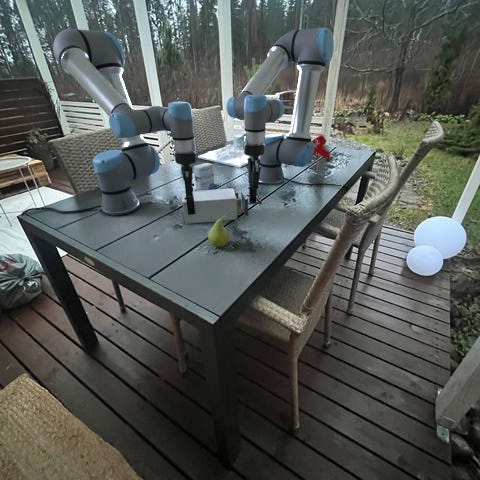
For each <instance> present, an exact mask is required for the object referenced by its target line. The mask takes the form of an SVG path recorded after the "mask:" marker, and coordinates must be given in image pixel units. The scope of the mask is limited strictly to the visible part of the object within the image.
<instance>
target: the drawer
mask: <svg viewBox="0 0 480 480" xmlns="http://www.w3.org/2000/svg"><path fill="white" fill-rule="evenodd" d="M234 193H235V196H236V198H237V216H238V215H242V211H243V214H244V216H245V217H246V216H247V217H248V216H249V206H250V205H259V206H261V205H263V202H262V200H261V198H260V196H259V194H258V193H257V201H256V202H252V203H249V194H246V191H245V190H240V198H239V192H238V191H236V192H235V191H234Z"/></svg>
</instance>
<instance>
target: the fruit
mask: <svg viewBox="0 0 480 480" xmlns="http://www.w3.org/2000/svg"><path fill="white" fill-rule="evenodd" d="M228 214H229V212H228V213H227V214H226V215H225V216H227V215H228ZM225 216H224V217H225ZM224 217H222V218H220V219H219V220H217V221H215V223H214V224H213V226H212V227H211V229H209V231H208V234H207V238H208V241H209V243H210V244H211V245H212V246H213V247H215V248H222V247H225V245H227V243H228V241H229V239H230V233H229V231H228V230H227V229H226V228H225V227H224V224H223V223H224V222H223V218H224Z"/></svg>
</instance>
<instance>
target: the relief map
mask: <svg viewBox="0 0 480 480" xmlns="http://www.w3.org/2000/svg"><path fill="white" fill-rule="evenodd" d="M197 158H198V159H202V160H206V161H210V162H213V163H218V164H223V165H226V166H227V165H228V166H232V167H235V168H236V167H237V168H242V167H245V166H248V160H247V159H248V158H249V156H248V155H245V154H244V148H243V149H242V148H239V147H237V145H236V144H234V143H233V144H231V143H229V144H227V145H226V146H223V147H221V148H218V149H216V150H209V151H207V152H206V153H203V154H200V155H198V156H197Z"/></svg>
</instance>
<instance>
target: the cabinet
mask: <svg viewBox="0 0 480 480" xmlns="http://www.w3.org/2000/svg"><path fill="white" fill-rule="evenodd" d="M234 192H235V191H234V188H232V187H231V188H219V189H218V188H217V189H208V190H202V191H199V190H193V197H194V206H195V214H192V215H188V209H187V201H186V200H185V199H184V198H186V191H182V192H181V205H182V212H183V213H182V214H183V219H184V220H183V221H184V224H185V225H188V224H200V223H211V222H217V220H219V219H220V218H222V217H224V216H225V215H226V214H227V213H228V212H229V214H228V215H227V216H225V217H224V218H223V221H235V220H238V215H237V198H236V196H235V193H234ZM223 221H222V222H223Z"/></svg>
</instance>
